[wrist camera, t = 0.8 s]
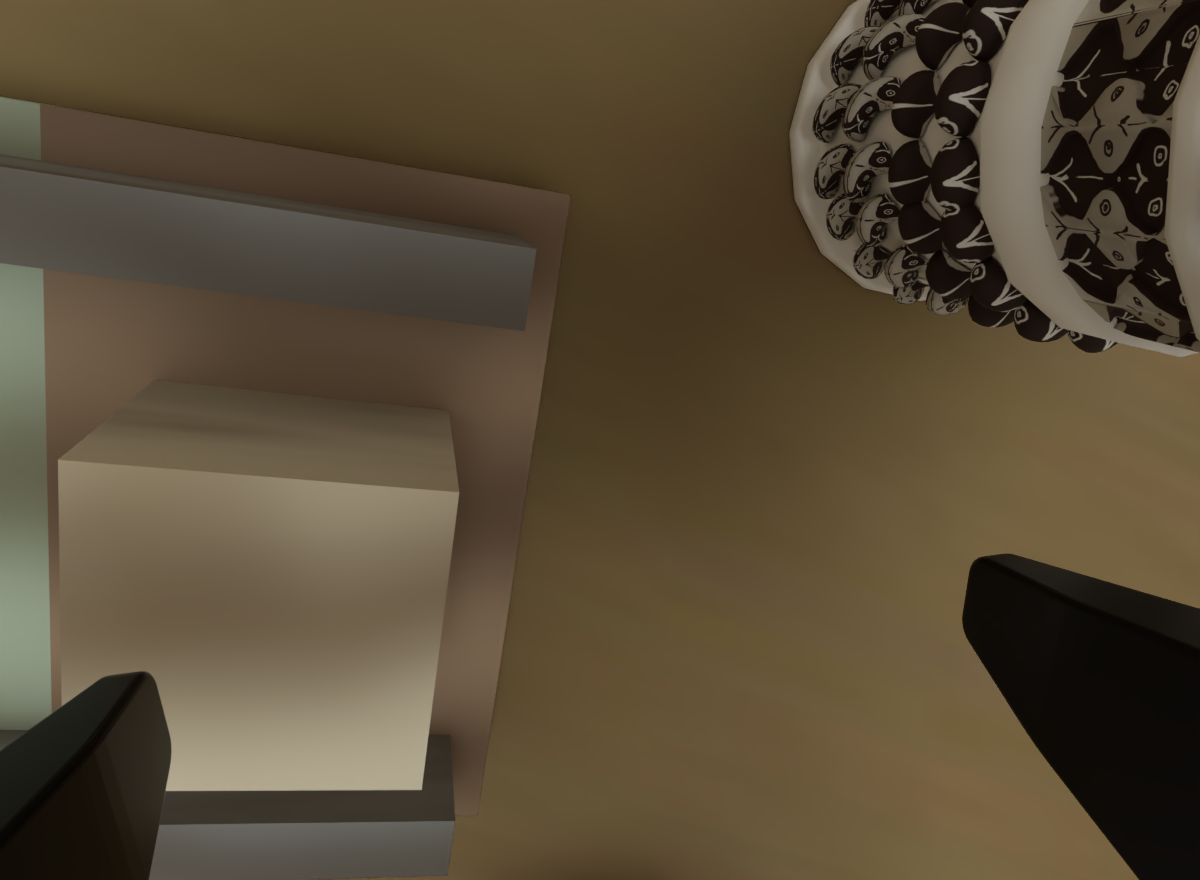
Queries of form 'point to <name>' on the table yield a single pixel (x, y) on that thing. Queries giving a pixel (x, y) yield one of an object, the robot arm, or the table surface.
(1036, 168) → the decorative candle
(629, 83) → the table surface
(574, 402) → the table surface
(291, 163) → the channel board
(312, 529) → the cream block
